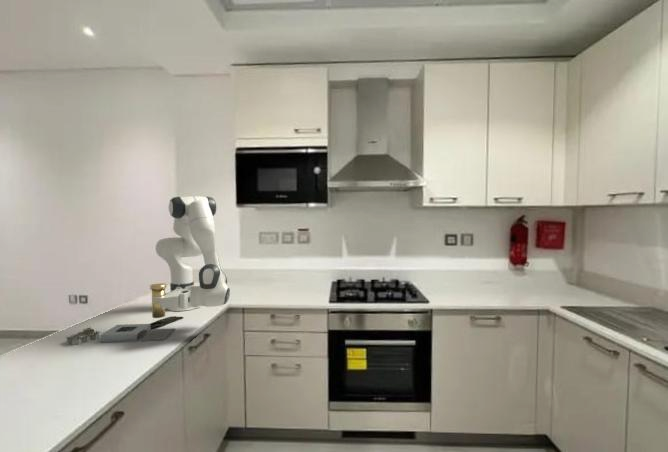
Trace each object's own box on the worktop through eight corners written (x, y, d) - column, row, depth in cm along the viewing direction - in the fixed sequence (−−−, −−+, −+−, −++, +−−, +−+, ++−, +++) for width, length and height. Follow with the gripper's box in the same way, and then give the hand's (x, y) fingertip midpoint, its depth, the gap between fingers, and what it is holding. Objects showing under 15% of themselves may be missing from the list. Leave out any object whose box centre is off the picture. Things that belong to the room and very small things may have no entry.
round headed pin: (154, 314, 159) (153, 283, 158) (168, 314, 159) (168, 283, 159) (148, 318, 153) (147, 286, 152) (163, 318, 153) (163, 285, 153)
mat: (154, 330, 163) (154, 329, 163) (175, 329, 164) (175, 328, 164) (141, 341, 149) (140, 339, 149) (164, 340, 150) (164, 338, 150)
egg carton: (91, 336, 156) (91, 326, 156) (102, 338, 153) (102, 329, 153) (63, 343, 147) (63, 333, 147) (74, 346, 143) (74, 336, 143)
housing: (117, 331, 161) (117, 324, 161) (150, 330, 163) (150, 323, 163) (100, 342, 147) (100, 335, 147) (137, 341, 149) (136, 333, 149)
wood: (172, 317, 185) (172, 311, 185) (184, 318, 183) (184, 312, 183) (137, 330, 164) (137, 324, 164) (150, 332, 162) (150, 325, 162)
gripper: (196, 285, 167) (164, 285, 166) (182, 294, 147) (146, 295, 146) (196, 298, 168) (165, 299, 166) (183, 310, 147) (146, 311, 146)
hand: (156, 297), depth 156 cm, fingers closed on round headed pin, 5 cm apart
